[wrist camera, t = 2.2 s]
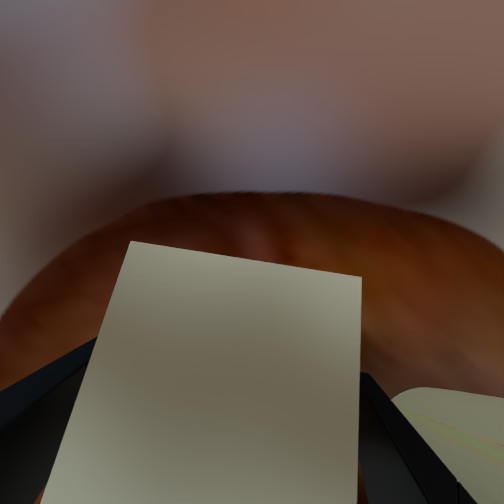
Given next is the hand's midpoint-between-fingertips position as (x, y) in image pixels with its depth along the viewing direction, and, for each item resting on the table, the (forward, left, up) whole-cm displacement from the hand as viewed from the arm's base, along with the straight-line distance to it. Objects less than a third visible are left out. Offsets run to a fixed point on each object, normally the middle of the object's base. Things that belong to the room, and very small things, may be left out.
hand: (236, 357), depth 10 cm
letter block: (0, 0, -8) cm, 8 cm away
